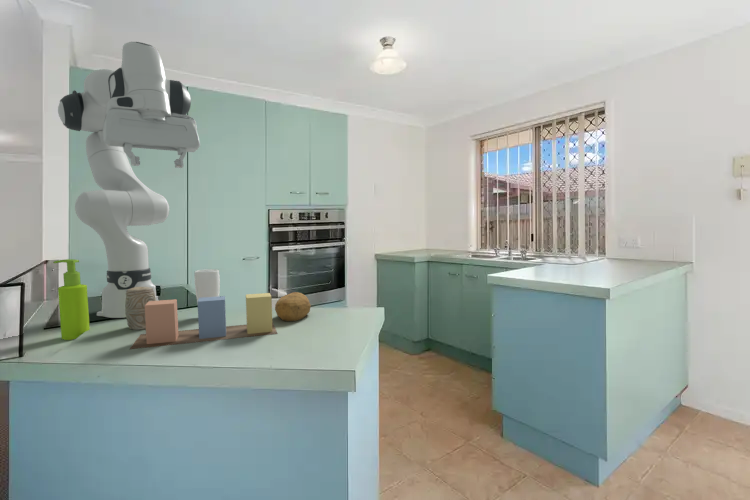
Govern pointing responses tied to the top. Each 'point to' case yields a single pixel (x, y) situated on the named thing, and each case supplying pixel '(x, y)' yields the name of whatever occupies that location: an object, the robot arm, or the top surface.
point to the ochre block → (259, 313)
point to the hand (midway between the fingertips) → (158, 166)
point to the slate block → (211, 317)
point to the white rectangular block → (207, 283)
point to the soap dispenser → (73, 303)
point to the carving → (137, 306)
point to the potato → (292, 307)
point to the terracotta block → (161, 321)
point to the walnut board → (193, 337)
